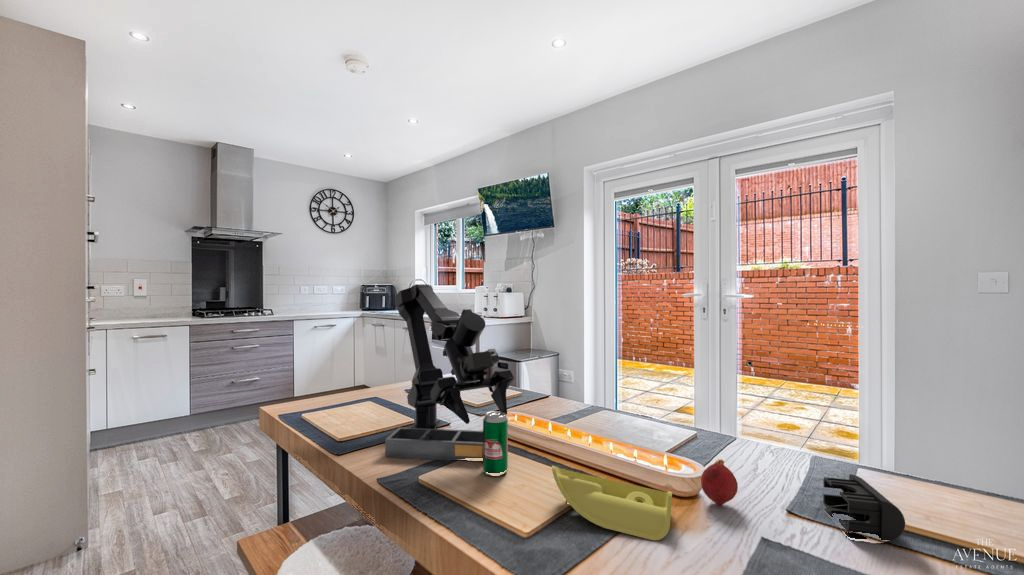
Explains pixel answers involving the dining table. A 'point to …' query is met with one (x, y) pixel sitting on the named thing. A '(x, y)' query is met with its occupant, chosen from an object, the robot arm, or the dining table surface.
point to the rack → (434, 444)
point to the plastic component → (617, 504)
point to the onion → (719, 483)
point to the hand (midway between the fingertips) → (487, 419)
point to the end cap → (863, 509)
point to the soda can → (495, 442)
